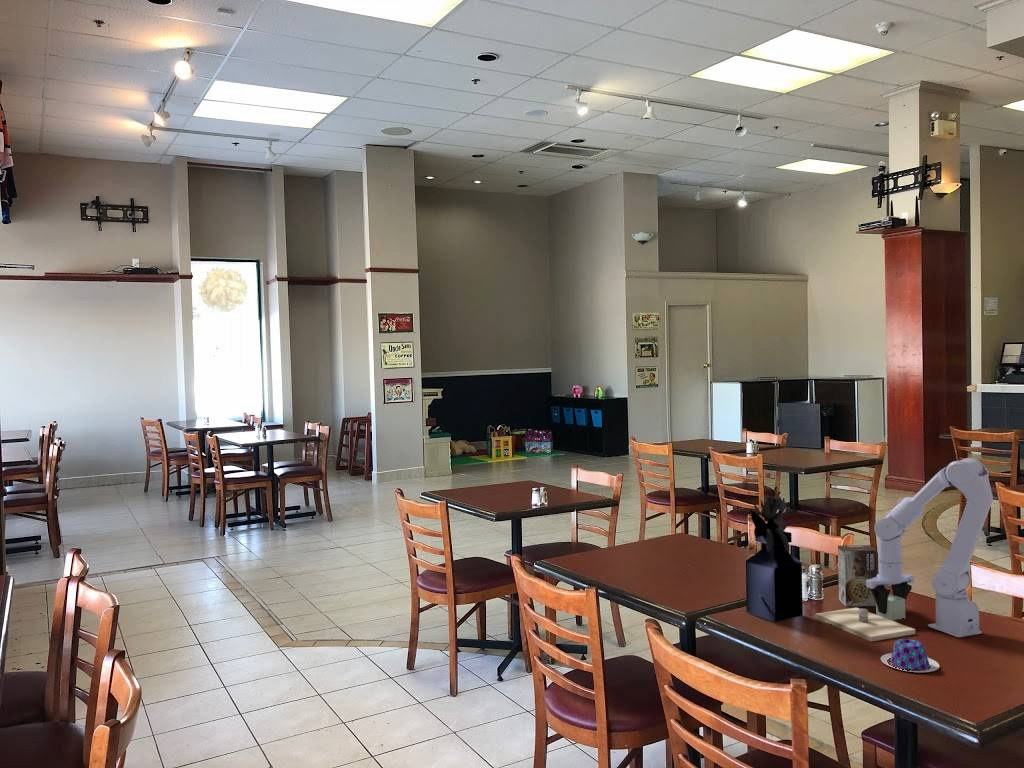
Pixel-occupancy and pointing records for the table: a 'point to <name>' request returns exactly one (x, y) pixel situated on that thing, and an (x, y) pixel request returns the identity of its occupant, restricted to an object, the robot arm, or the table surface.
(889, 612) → the pale green cube
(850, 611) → the board
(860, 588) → the coffee box
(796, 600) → the vase
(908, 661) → the purple patterned hat
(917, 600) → the table surface
